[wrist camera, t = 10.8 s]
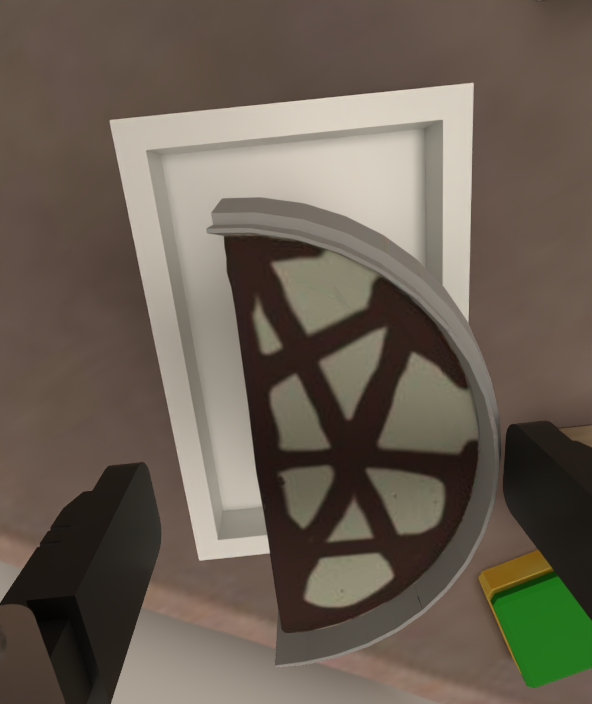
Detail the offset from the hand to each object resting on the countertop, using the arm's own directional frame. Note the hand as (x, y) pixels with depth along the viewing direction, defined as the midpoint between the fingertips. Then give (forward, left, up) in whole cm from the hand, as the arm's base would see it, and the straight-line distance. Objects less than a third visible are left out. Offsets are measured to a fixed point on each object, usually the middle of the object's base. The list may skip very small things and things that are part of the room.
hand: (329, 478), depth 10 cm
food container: (+2, 0, -10) cm, 10 cm away
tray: (0, 0, -11) cm, 11 cm away
